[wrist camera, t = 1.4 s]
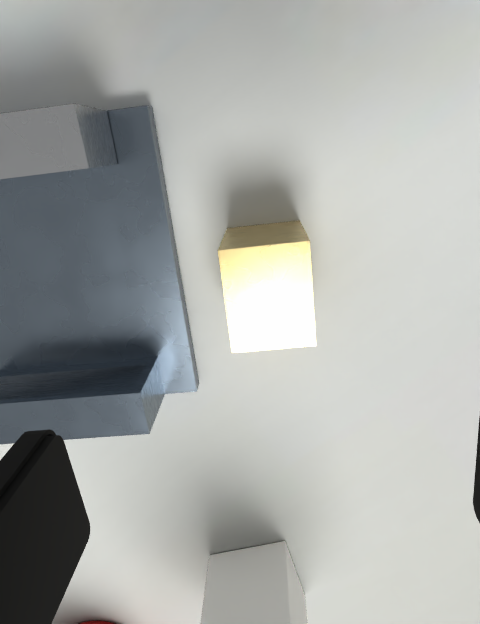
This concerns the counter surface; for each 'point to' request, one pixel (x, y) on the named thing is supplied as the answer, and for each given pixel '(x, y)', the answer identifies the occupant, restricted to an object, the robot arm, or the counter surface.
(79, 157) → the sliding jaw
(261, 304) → the brass block
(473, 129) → the counter surface
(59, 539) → the robot arm
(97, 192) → the vise
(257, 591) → the milk
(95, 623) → the canned food
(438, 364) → the counter surface
